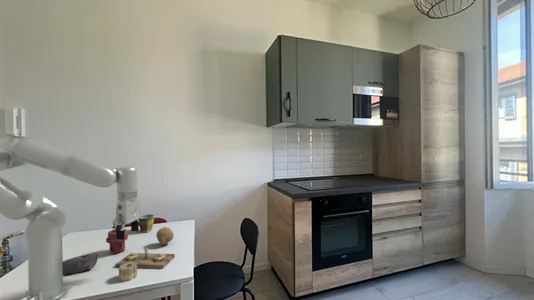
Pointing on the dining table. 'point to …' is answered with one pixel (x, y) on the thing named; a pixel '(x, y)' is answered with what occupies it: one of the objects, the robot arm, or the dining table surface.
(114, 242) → the mechanical component
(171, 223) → the dining table surface
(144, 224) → the ceramic cup
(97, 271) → the dining table surface
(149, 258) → the gear board
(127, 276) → the birch gear
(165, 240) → the natural sponge
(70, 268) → the perforated stone tool
